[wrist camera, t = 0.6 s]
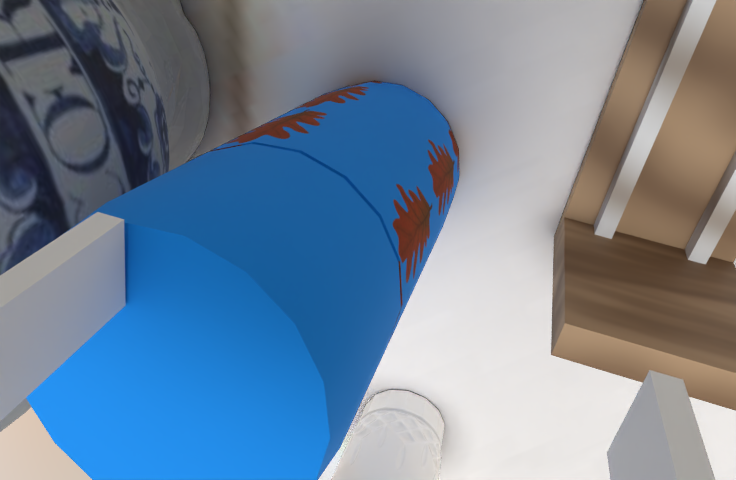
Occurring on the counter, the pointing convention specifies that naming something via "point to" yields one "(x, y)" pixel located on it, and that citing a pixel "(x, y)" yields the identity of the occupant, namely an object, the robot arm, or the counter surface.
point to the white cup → (394, 440)
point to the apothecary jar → (90, 111)
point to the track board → (658, 210)
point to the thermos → (259, 294)
